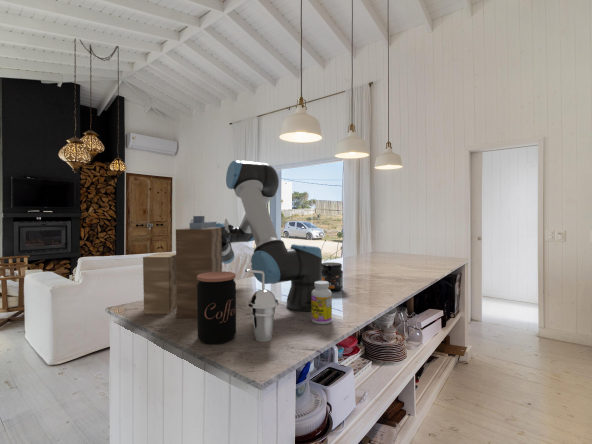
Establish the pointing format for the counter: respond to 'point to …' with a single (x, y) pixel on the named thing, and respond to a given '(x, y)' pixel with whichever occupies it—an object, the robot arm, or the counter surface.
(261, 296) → the cup with straw
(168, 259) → the oak block
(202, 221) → the lid
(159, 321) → the counter surface
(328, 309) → the supplement bottle
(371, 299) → the counter surface
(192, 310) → the walnut box
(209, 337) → the coffee jar
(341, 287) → the supplement container
